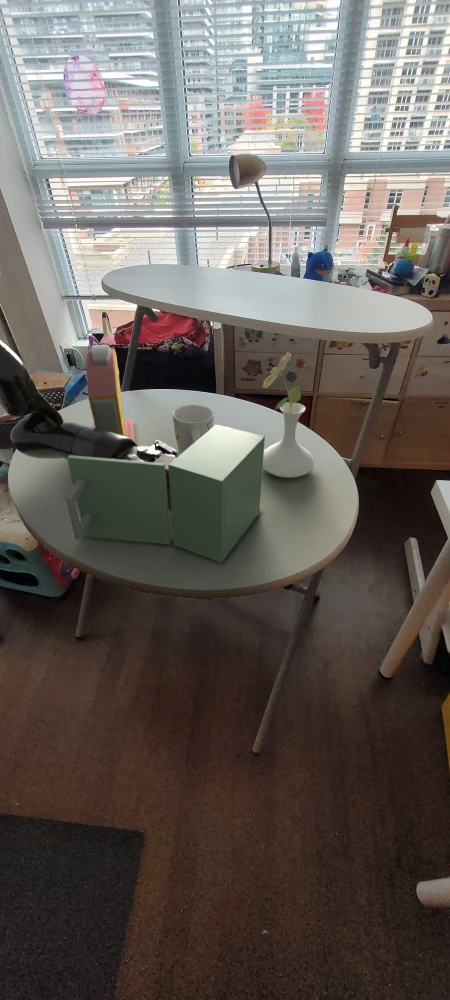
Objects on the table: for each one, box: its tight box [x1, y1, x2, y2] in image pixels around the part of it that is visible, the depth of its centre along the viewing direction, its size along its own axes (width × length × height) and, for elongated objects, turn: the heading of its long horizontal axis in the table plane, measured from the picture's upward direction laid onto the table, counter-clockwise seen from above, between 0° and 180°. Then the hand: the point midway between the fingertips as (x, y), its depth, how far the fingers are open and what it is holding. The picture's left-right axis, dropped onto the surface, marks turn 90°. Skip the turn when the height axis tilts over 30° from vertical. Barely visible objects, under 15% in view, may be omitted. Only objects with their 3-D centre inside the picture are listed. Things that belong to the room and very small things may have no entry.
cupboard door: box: [64, 455, 172, 546], centre depth 70 cm, size 6×15×16 cm, turn 82°
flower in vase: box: [261, 351, 315, 479], centre depth 88 cm, size 13×11×25 cm
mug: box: [172, 404, 215, 455], centre depth 95 cm, size 11×8×10 cm
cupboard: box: [168, 424, 266, 564], centre depth 75 cm, size 9×15×16 cm, turn 152°
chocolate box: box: [154, 454, 176, 512], centre depth 79 cm, size 5×4×8 cm
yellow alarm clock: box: [86, 344, 136, 443], centre depth 97 cm, size 22×9×22 cm, turn 11°
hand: (184, 476), depth 77 cm, fingers closed on chocolate box, 4 cm apart
